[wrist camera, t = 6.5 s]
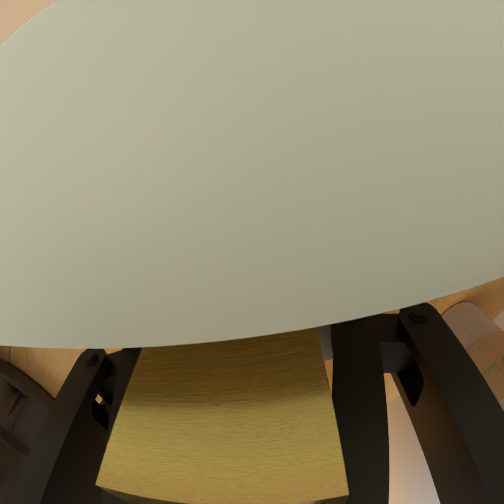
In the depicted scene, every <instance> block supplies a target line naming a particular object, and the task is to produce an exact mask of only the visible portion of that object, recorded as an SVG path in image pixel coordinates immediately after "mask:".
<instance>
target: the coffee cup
mask: <svg viewBox="0 0 504 504" xmlns="http://www.w3.org/2000/svg"><path fill="white" fill-rule="evenodd" d="M441 317H442V318H443V319H444V321H445V322H446V323H447V325H448V326H449V327H450V329H451V330H452V331H453V333H454V334H455V336H456V337H457V338H458V340H459V341H460V343H461V344H462V345H463V347H464V348H465V350H466V351H467V353H468V354H469V356H470V357H471V359H472V360H473V362H474V363H475V365H476V366H477V368H478V369H479V371H480V372H481V374H482V375H483V377H484V379H485V380H486V382H487V383H488V385H489V387H490V388H491V390H492V392H493V393H494V395H495V397H496V398H497V400H498V402H499V404H500V405H501V407H502V409H503V411H504V332H503V331H502V330H501V329H500V328H499V327H498V326H497V325H495V323H494V322H493V321H492V320H491V319H490V318H489V317H487V316H486V315H485V314H484V313H483V312H482V311H481V310H480V309H479V308H478V307H477V306H476V305H475V304H473V303H471V302H461V303H458V304H456V305H454V306H452V307H451V308H450V309H448V310H447V311H446V312H445V313H444V314H443V315H442V316H441Z"/></svg>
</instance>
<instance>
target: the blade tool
mask: <svg viewBox="0 0 504 504" xmlns="http://www.w3.org/2000/svg"><path fill="white" fill-rule="evenodd" d="M96 486H98V487H100V488H102V489H103V490H105V491H107V492H109V493H110V494H112V495H114V496H116V497H118V498H120V499H122V500H124V501H126V502H128V503H130V504H345V503H346V500H347V498H348V496H349V491H348V485H347V478H346V472H345V466H344V460H343V455H342V449H341V443H340V438H339V432H338V427H337V422H336V417H335V412H334V407H333V402H332V397H331V392H330V387H329V383H328V378H327V373H326V369H325V364H324V360H323V355H322V351H321V346H320V342H319V338H318V333H317V329H316V327H313V328H307V329H302V330H296V331H290V332H283V333H277V334H270V335H263V336H256V337H249V338H241V339H233V340H224V341H215V342H206V343H195V344H184V345H171V346H156V347H142V350H141V353H140V355H139V358H138V360H137V363H136V365H135V368H134V371H133V373H132V376H131V378H130V381H129V384H128V386H127V389H126V392H125V395H124V397H123V400H122V403H121V406H120V409H119V412H118V414H117V417H116V420H115V423H114V426H113V429H112V432H111V435H110V438H109V441H108V444H107V448H106V451H105V454H104V457H103V461H102V464H101V467H100V471H99V474H98V478H97V481H96Z"/></svg>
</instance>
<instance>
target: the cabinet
mask: <svg viewBox="0 0 504 504" xmlns="http://www.w3.org/2000/svg"><path fill="white" fill-rule="evenodd" d="M502 277H504V0H56V1H54V2H53V3H51V4H50V5H49V6H47V7H46V8H44V9H43V10H41V11H40V12H39V13H37V14H36V15H35V16H33V17H32V18H31V19H29V20H28V21H27V22H26V23H24V24H23V25H22V26H21V27H19V28H18V29H17V30H16V31H15V32H14V33H12V34H11V35H10V36H9V37H8V38H7V39H5V40H4V41H3V42H2V43H1V44H0V345H3V346H16V347H33V348H62V349H106V348H137V347H156V346H171V345H184V344H195V343H206V342H215V341H224V340H233V339H241V338H249V337H256V336H263V335H270V334H277V333H283V332H290V331H296V330H302V329H307V328H313V327H318V326H324V325H329V324H334V323H339V322H344V321H349V320H354V319H358V318H363V317H367V316H372V315H376V314H380V313H385V312H389V311H393V310H397V309H401V308H405V307H409V306H412V305H416V304H420V303H424V302H427V301H431V300H434V299H438V298H441V297H445V296H448V295H451V294H454V293H458V292H461V291H464V290H467V289H470V288H473V287H476V286H479V285H482V284H485V283H488V282H491V281H494V280H497V279H500V278H502Z"/></svg>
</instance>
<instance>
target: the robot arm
mask: <svg viewBox="0 0 504 504" xmlns="http://www.w3.org/2000/svg"><path fill="white" fill-rule="evenodd" d="M316 329H317V333H318V338H319V342H320V346H321V351H322V355H323V360H329V359H333V379H332V402H333V407H334V412H335V417H336V422H337V427H338V432H339V438H340V443H341V449H342V455H343V460H344V466H345V472H346V478H347V485H348V491H349V496H348V498H347V500H346V503H345V504H388V502H389V501H388V500H389V436H388V418H387V404H386V392H385V382H384V373H391V375H392V377H393V379H394V382H395V384H396V386H397V388H398V391H399V393H400V395H401V398H402V400H403V402H404V404H405V407H406V409H407V412H408V414H409V417H410V419H411V422H412V424H413V427H414V429H415V432H416V434H417V437H418V440H419V442H420V445H421V448H422V450H423V453H424V456H425V459H426V461H427V464H428V467H429V470H430V473H431V475H432V478H433V482H434V485H435V488H436V491H437V494H438V497H439V500H440V504H504V411H503V409H502V407H501V405H500V404H499V402H498V400H497V398H496V397H495V395H494V393H493V392H492V390H491V388H490V387H489V385H488V383H487V382H486V380H485V379H484V377H483V375H482V374H481V372H480V371H479V369H478V368H477V366H476V365H475V363H474V362H473V360H472V359H471V357H470V356H469V354H468V353H467V351H466V350H465V348H464V347H463V345H462V344H461V343H460V341H459V340H458V338H457V337H456V336H455V334H454V333H453V331H452V330H451V329H450V327H449V326H448V325H447V323H446V322H445V321H444V319H443V318H442V317H441V315H440V314H439V313H438V311H437V310H436V309H435V308H434V307H433V306H432V305H430V304H428V303H426V302H424V303H420V304H416V305H412V306H409V307H405V308H401V309H400V312H399V314H384V313H380V314H376V315H372V316H367V317H363V318H358V319H354V320H349V321H344V322H339V323H334V324H329V325H324V326H318V327H316ZM141 350H142V347H137V348H123V350H121V351H118V352H114V353H111V354H108V355H107V353H106V352H105V350H104V349H87V350H85V351H84V352H83V353H82V354H81V355H80V356H79V358H78V359H77V361H76V363H75V364H74V366H73V368H72V369H71V371H70V373H69V375H68V377H67V378H66V380H65V382H64V384H63V385H62V387H61V389H60V391H59V393H58V395H57V396H56V398H55V400H54V399H53V398H52V397H51V396H50V395H49V394H48V393H47V392H46V391H44V390H43V389H42V388H41V387H40V386H39V385H37V384H36V383H35V382H34V381H33V380H31V379H30V378H29V377H27V376H26V375H25V374H23V373H22V372H20V371H19V370H17V369H16V368H14V367H13V366H11V365H9V364H8V363H6V362H3V361H1V360H0V504H130V503H128V502H126V501H124V500H122V499H120V498H118V497H116V496H114V495H112V494H110V493H109V492H107V491H105V490H103V489H102V488H100V487H98V486H96V481H97V478H98V474H99V471H100V467H101V464H102V461H103V457H104V454H105V451H106V448H107V444H108V441H109V438H110V435H111V432H112V429H113V426H114V423H115V420H116V417H117V414H118V412H119V409H120V406H121V403H122V400H123V397H124V395H125V392H126V389H127V386H128V384H129V381H130V378H131V376H132V373H133V371H134V368H135V365H136V363H137V360H138V358H139V355H140V353H141ZM97 394H99V395H100V396H101V397H102V401H101V403H100V404H99V403H98V402H97V401H96V400H95V399H96V397H97Z"/></svg>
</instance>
